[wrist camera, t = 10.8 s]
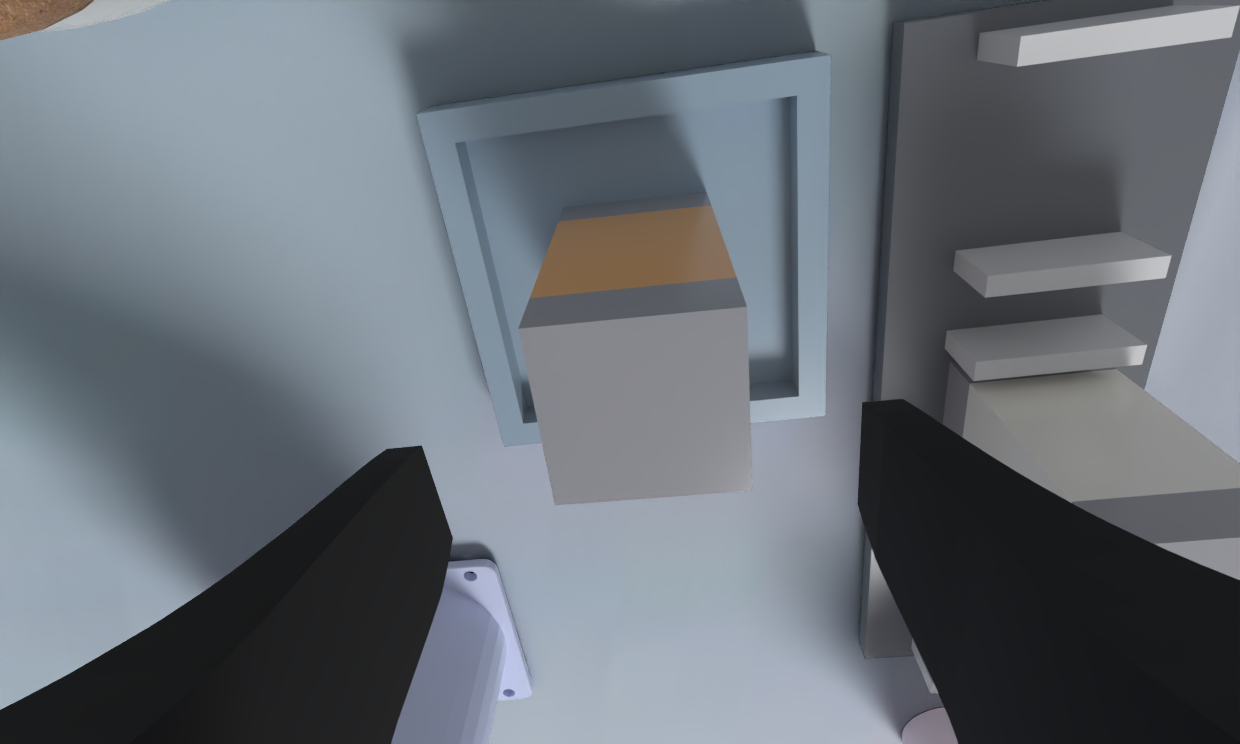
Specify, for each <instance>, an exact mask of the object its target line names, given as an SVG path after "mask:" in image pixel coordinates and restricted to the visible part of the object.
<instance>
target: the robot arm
mask: <svg viewBox="0 0 1240 744" xmlns="http://www.w3.org/2000/svg"><path fill="white" fill-rule="evenodd" d="M858 506H859V510H860V513H861V516H862V519H863V522H864V526H865V529H866V532H867V535H868V538H869V541H870V544H871V547H872V550H873V553H874V556H875V559H876V562H877V564H878V566H879V568H880V570H881V572H882V575H883V577H884V579H885V581H886V583H887V585H888V587H889V590H890V592H891V594H892V596H893V598H894V600H895V602H896V605H897V607H898V609H899V611H900V613H901V615H902V617H903V619H904V621H905V623H906V626H907V628H908V630H909V632H910V634H911V636H912V638H913V640H914V642H915V644H916V647H917V649H918V651H919V653H920V655H921V657H922V659H923V661H924V663H925V665H926V668H927V670H928V672H929V674H930V676H931V678H932V680H933V682H934V684H935V686H936V689H937V691H938V693H939V696H940V698H941V700H942V703H943V705H944V707H945V710H946V712H947V714H948V717H949V719H950V722H951V725H952V727H953V730H954V733H955V736H956V739H957V741H958V744H1240V580H1238V579H1236V578H1233V577H1231V576H1228V575H1226V574H1223V573H1221V572H1218V571H1216V570H1213V569H1211V568H1208V567H1206V566H1203V565H1201V564H1198V563H1196V562H1194V561H1191V560H1189V559H1187V558H1184V557H1182V556H1180V555H1178V554H1175V553H1173V552H1171V551H1168V550H1166V549H1164V548H1162V547H1159V546H1157V545H1155V544H1153V543H1151V542H1149V541H1147V540H1145V539H1143V538H1141V537H1138V536H1136V535H1134V534H1132V533H1130V532H1128V531H1126V530H1124V529H1122V528H1120V527H1117V526H1115V525H1113V524H1111V523H1109V522H1107V521H1105V520H1103V519H1101V518H1099V517H1097V516H1095V515H1093V514H1091V513H1089V512H1087V511H1085V510H1084V509H1082V508H1080V507H1078V506H1076V505H1074V504H1073V503H1071V502H1069V501H1067V500H1065V499H1064V498H1062V497H1060V496H1058V495H1056V494H1055V493H1053V492H1051V491H1049V490H1047V489H1046V488H1044V487H1042V486H1040V485H1038V484H1037V483H1035V482H1033V481H1032V480H1030V479H1028V478H1027V477H1025V476H1023V475H1021V474H1020V473H1018V472H1016V471H1015V470H1013V469H1011V468H1010V467H1008V466H1007V465H1005V464H1003V463H1002V462H1000V461H998V460H997V459H995V458H994V457H992V456H991V455H989V454H987V453H986V452H984V451H983V450H981V449H980V448H978V447H976V446H975V445H973V444H972V443H970V442H969V441H967V440H966V439H964V438H963V437H961V436H960V435H958V434H957V433H955V432H954V431H952V430H950V429H949V428H947V427H946V426H944V425H943V424H941V423H940V422H938V421H937V420H935V419H934V418H932V417H931V416H929V415H928V414H926V413H925V412H923V411H922V410H920V409H919V408H917V407H915V406H914V405H912V404H911V403H909V402H907V401H906V400H904V399H893V400H883V401H873V402H862V423H861V444H860V466H859V487H858ZM452 540H453V538H452V535H451V532H450V529H449V526H448V523H447V520H446V517H445V514H444V511H443V508H442V505H441V502H440V499H439V496H438V493H437V490H436V487H435V484H434V481H433V478H432V475H431V472H430V469H429V466H428V463H427V460H426V457H425V454H424V451H423V448H422V446H414V447H403V448H393V449H386V450H385V451H383V452H382V453H381V454H379V455H378V456H376V457H375V458H374V459H372V460H371V461H370V462H368V463H367V464H366V465H365V466H363V467H362V468H361V469H360V470H358V471H357V472H356V473H355V474H354V475H352V476H351V477H350V478H349V479H348V480H346V481H345V482H344V483H343V484H342V485H340V486H339V487H338V488H337V489H336V490H334V491H333V492H332V493H331V494H330V495H328V496H327V497H326V498H325V499H323V500H322V501H321V502H320V503H319V504H317V505H316V506H315V507H314V508H313V509H311V510H310V511H309V512H308V513H306V514H305V515H304V516H303V517H302V518H300V519H299V520H298V521H297V522H296V523H294V524H293V525H292V526H291V527H289V528H288V529H287V530H286V531H284V532H283V533H282V534H280V535H279V536H278V537H276V538H275V539H274V540H273V541H271V542H270V543H269V544H267V545H266V546H265V547H263V548H262V549H261V550H260V551H258V552H257V553H256V554H254V555H253V556H252V557H250V558H249V559H248V560H247V561H245V562H244V563H243V564H241V565H240V566H239V567H237V568H236V569H235V570H233V571H232V572H231V573H229V574H228V575H227V576H225V577H224V578H222V579H221V580H220V581H218V582H217V583H215V584H214V585H212V586H211V587H210V588H208V589H207V590H205V591H204V592H202V593H201V594H200V595H198V596H196V597H195V598H193V599H192V600H190V601H189V602H187V603H186V604H184V605H183V606H181V607H180V608H178V609H177V610H175V611H174V612H172V613H171V614H169V615H168V616H166V617H165V618H163V619H161V620H160V621H158V622H157V623H155V624H153V625H152V626H150V627H149V628H147V629H145V630H144V631H142V632H140V633H139V634H137V635H135V636H133V637H132V638H130V639H128V640H127V641H125V642H123V643H121V644H120V645H118V646H116V647H115V648H113V649H111V650H109V651H108V652H106V653H104V654H103V655H101V656H99V657H97V658H96V659H94V660H92V661H91V662H89V663H87V664H85V665H84V666H82V667H80V668H79V669H77V670H75V671H73V672H72V673H70V674H68V675H66V676H64V677H63V678H61V679H59V680H57V681H55V682H53V683H51V684H49V685H47V686H46V687H44V688H42V689H40V690H38V691H36V692H34V693H32V694H30V695H29V696H27V697H25V698H23V699H21V700H19V701H17V702H15V703H13V704H11V705H9V706H7V707H5V708H3V709H1V710H0V744H489V740H490V735H491V730H492V725H493V720H494V716H495V711H496V706H497V701H498V700H513V699H524V698H527V697H529V696H530V695H531V694H532V689H533V684H532V680H531V677H530V674H529V670H528V667H527V664H526V660H525V657H524V654H523V651H522V647H521V644H520V641H519V637H518V634H517V631H516V627H515V624H514V621H513V617H512V614H511V611H510V607H509V604H508V601H507V597H506V594H505V591H504V588H503V584H502V581H501V578H500V574H499V571H498V568H497V566H496V564H495V563H494V562H492V561H490V560H488V559H476V560H464V561H451V562H449V556H450V551H451V545H452ZM468 571H472V572H474V573H475V574H474V573H469V572H468Z"/></svg>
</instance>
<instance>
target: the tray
mask: <svg viewBox="0 0 1240 744" xmlns="http://www.w3.org/2000/svg"><path fill="white" fill-rule="evenodd" d="M830 90H831V55H830V54H826V53H822V52H818V51H813V52H806V53H799V54H792V55H785V56H778V57H771V58H764V59H757V60H750V61H743V62H736V63H729V64H722V65H715V66H708V67H701V68H694V69H687V70H680V71H673V72H666V73H659V74H652V75H645V76H638V77H631V78H624V79H618V80H611V81H604V82H597V83H590V84H583V85H576V86H569V87H562V88H555V89H548V90H541V91H534V92H527V93H520V94H513V95H506V96H499V97H492V98H485V99H478V100H471V101H464V102H457V103H450V104H443V105H436V106H431V107H429V108H427V109H425V110H423V111H421V112H419V113H417V114H416V116H417V120H418V123H419V127H420V131H421V135H422V139H423V142H424V146H425V150H426V154H427V158H428V161H429V165H430V169H431V173H432V176H433V180H434V184H435V188H436V192H437V195H438V199H439V203H440V207H441V211H442V214H443V218H444V222H445V226H446V229H447V233H448V237H449V241H450V245H451V248H452V252H453V256H454V260H455V264H456V267H457V271H458V275H459V279H460V282H461V286H462V290H463V294H464V298H465V301H466V305H467V309H468V313H469V317H470V320H471V324H472V328H473V332H474V335H475V339H476V343H477V347H478V351H479V354H480V358H481V362H482V366H483V370H484V373H485V377H486V381H487V385H488V388H489V392H490V396H491V400H492V404H493V407H494V411H495V415H496V419H497V423H498V426H499V430H500V434H501V438H502V441H503V445H504V447H507V446H517V445H527V444H538V443H542V441H541V436H540V431H539V426H538V422H537V417H536V412H535V407H534V402H533V398H532V393H531V388H530V383H529V379H528V374H527V369H526V364H525V360H524V355H523V350H522V345H521V340H520V336H519V331H518V328H519V325H520V322H521V320H522V317H523V314H524V312H525V309H526V306H527V304H528V301H529V298H530V296H531V293H532V290H533V288H534V285H535V282H536V280H537V277H538V274H539V272H540V269H541V266H542V264H543V261H544V259H545V256H546V253H547V251H548V248H549V245H550V243H551V240H552V237H553V235H554V232H555V229H556V227H557V224H558V221H559V219H560V216H561V213H562V211H563V208H564V207H573V206H582V205H591V204H600V203H609V202H618V201H627V200H636V199H645V198H654V197H663V196H673V195H682V194H691V193H700V192H707V194H708V197H709V200H710V203H711V206H712V209H713V211H714V214H715V217H716V220H717V223H718V226H719V228H720V231H721V234H722V237H723V240H724V243H725V245H726V248H727V251H728V254H729V257H730V260H731V262H732V265H733V268H734V271H735V274H736V277H737V279H738V282H739V285H740V288H741V291H742V293H743V296H744V299H745V302H746V305H747V318H748V354H749V390H750V423H756V422H766V421H777V420H787V419H798V418H808V417H818V416H825V403H826V340H827V278H828V215H829V153H830Z"/></svg>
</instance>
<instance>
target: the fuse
mask: <svg viewBox="0 0 1240 744" xmlns="http://www.w3.org/2000/svg"><path fill="white" fill-rule="evenodd" d="M943 425H944V426H946V427H947V428H949V429H950V430H952V431H954V432H955V433H957V434H958V435H960V436H961V437H963V438H964V439H966V440H967V441H969V442H970V443H972V444H973V445H975V446H976V447H978V448H980V449H981V450H983V451H984V452H986V453H987V454H989V455H991V456H992V457H994V458H995V459H997V460H998V461H1000V462H1002V463H1003V464H1005V465H1007V466H1008V467H1010V468H1011V469H1013V470H1015V471H1016V472H1018V473H1020V474H1021V475H1023V476H1025V477H1027V478H1028V479H1030V480H1032V481H1033V482H1035V483H1037V484H1038V485H1040V486H1042V487H1044V488H1046V489H1047V490H1049V491H1051V492H1053V493H1055V494H1056V495H1058V496H1060V497H1062V498H1064V499H1065V500H1067V501H1069V502H1071V503H1073V504H1074V505H1076V506H1078V507H1080V508H1082V509H1084V510H1085V511H1087V512H1089V513H1091V514H1093V515H1095V516H1097V517H1099V518H1101V519H1103V520H1105V521H1107V522H1109V523H1111V524H1113V525H1115V526H1117V527H1120V528H1122V529H1124V530H1126V531H1128V532H1130V533H1132V534H1134V535H1136V536H1138V537H1141V538H1143V539H1145V540H1147V541H1149V542H1151V543H1153V544H1155V545H1157V546H1159V547H1162V548H1164V549H1166V550H1168V551H1171V552H1173V553H1175V554H1178V555H1180V556H1182V557H1184V558H1187V559H1189V560H1191V561H1194V562H1196V563H1198V564H1201V565H1203V566H1206V567H1208V568H1211V569H1213V570H1216V571H1218V572H1221V573H1223V574H1226V575H1228V576H1231V577H1233V578H1236V579H1238V580H1240V463H1239V462H1237V461H1236V460H1235V459H1233V458H1232V457H1231V456H1229V455H1228V454H1227V453H1225V452H1224V451H1223V450H1222V449H1220V448H1219V447H1218V446H1216V445H1215V444H1214V443H1212V442H1211V441H1210V440H1209V439H1207V438H1206V437H1205V436H1203V435H1202V434H1201V433H1199V432H1198V431H1197V430H1195V429H1194V428H1193V427H1192V426H1190V425H1189V424H1188V423H1186V422H1185V421H1184V420H1182V419H1181V418H1180V417H1178V416H1177V415H1176V414H1175V413H1173V412H1172V411H1171V410H1169V409H1168V408H1167V407H1165V406H1164V405H1163V404H1162V403H1160V402H1159V401H1158V400H1156V399H1155V398H1154V397H1152V396H1151V395H1150V394H1148V393H1147V392H1146V391H1145V390H1143V389H1142V388H1141V387H1139V386H1138V385H1137V384H1135V383H1134V382H1133V381H1131V380H1130V379H1129V378H1128V377H1126V376H1125V375H1124V374H1122V373H1121V372H1120V371H1118V370H1117V369H1116V368H1115V367H1112V368H1101V369H1091V370H1081V371H1071V372H1061V373H1051V374H1041V375H1031V376H1020V377H1010V378H1000V379H990V380H980V381H973V380H972V379H971V378H970V377H969V375H968V374H967V373H966V372H965V371H964V370H963V369H962V368H961V366H960V365H959V364H958V363H957V362H956V361H955V360H953V361H950V365H949V373H948V382H947V391H946V399H945V408H944V416H943Z"/></svg>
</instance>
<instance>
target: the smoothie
mask: <svg viewBox="0 0 1240 744" xmlns="http://www.w3.org/2000/svg"><path fill="white" fill-rule="evenodd" d="M902 742H903V744H958V741H957V739H956V736H955V733H954V730H953V727H952V725H951V722H950V719H949V717H948V714H947V712H946V710H945V707H943V708H937V709H932V710H929V711H926V712H924V713H921V714H919V715H918V716H916V717H914V718H913V719H912V720H910V721H909V722H908V723H907V724H906V726H905V727H904V729H903V731H902Z"/></svg>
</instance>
